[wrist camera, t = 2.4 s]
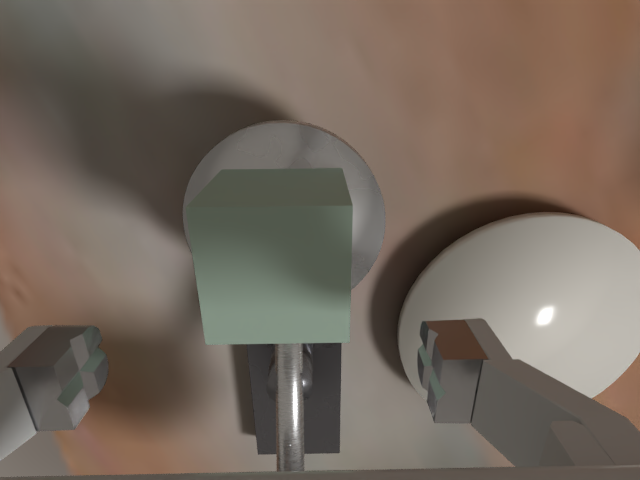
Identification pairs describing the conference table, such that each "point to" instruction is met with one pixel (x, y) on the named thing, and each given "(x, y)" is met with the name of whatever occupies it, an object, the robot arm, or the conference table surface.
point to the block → (273, 256)
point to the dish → (537, 296)
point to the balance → (367, 236)
